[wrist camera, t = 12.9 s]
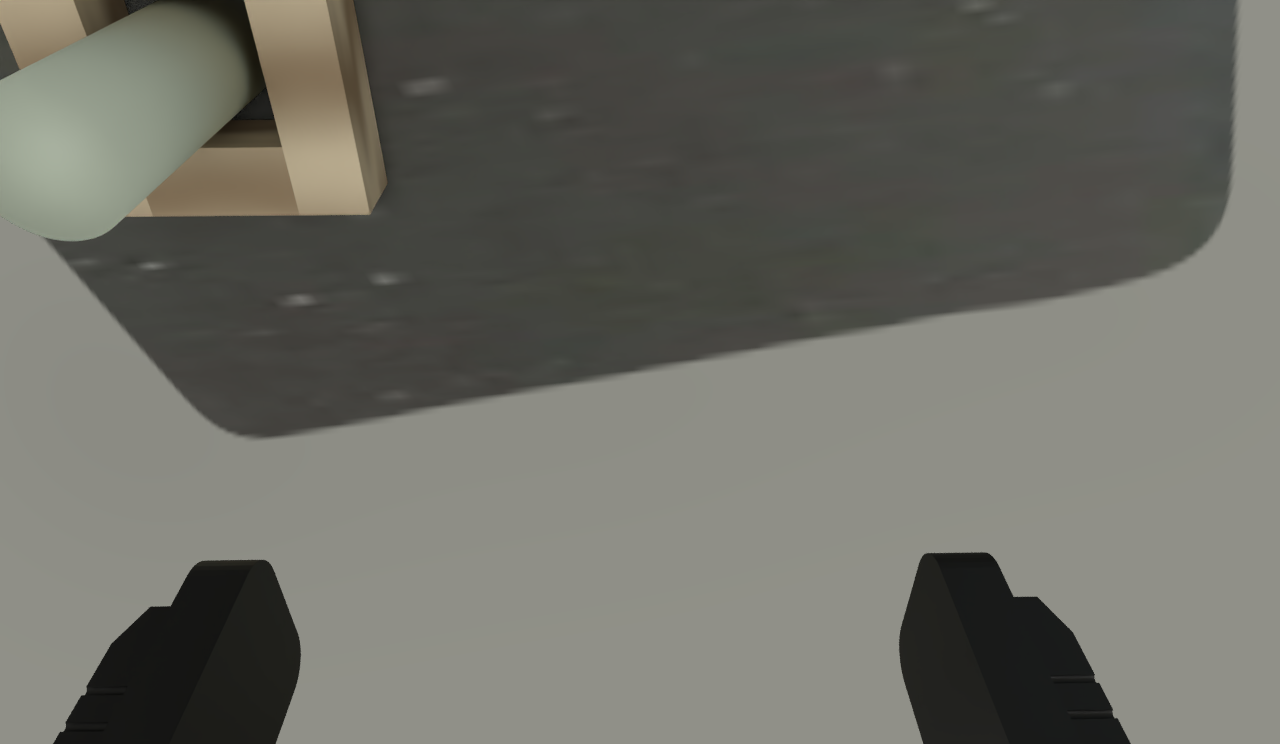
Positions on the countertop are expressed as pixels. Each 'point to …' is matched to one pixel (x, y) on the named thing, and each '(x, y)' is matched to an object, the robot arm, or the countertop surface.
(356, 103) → the socket
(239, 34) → the peg
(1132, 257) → the countertop surface
